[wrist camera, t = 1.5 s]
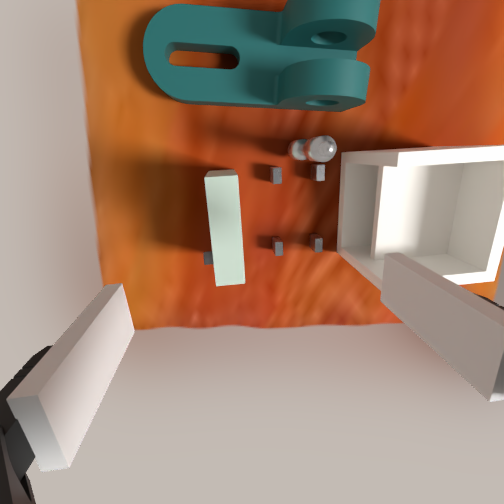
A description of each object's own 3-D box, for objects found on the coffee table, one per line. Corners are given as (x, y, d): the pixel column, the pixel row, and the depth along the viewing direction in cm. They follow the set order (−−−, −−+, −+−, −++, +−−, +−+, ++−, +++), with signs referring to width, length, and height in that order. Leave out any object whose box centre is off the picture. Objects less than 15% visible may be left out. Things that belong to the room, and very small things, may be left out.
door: (198, 171, 28) (190, 178, 21) (233, 169, 29) (237, 175, 21) (208, 255, 31) (204, 287, 24) (239, 252, 32) (245, 283, 24)
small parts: (268, 141, 28) (292, 136, 19) (318, 139, 28) (366, 132, 19) (272, 249, 32) (293, 290, 22) (316, 245, 32) (355, 284, 23)
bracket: (349, 30, 26) (401, -19, 18) (339, 112, 28) (382, 97, 21) (146, 13, 24) (112, -49, 16) (153, 102, 26) (126, 83, 19)
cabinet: (341, 152, 29) (398, 152, 20) (432, 146, 30) (530, 144, 20) (336, 252, 33) (382, 292, 23) (417, 245, 34) (494, 280, 24)
